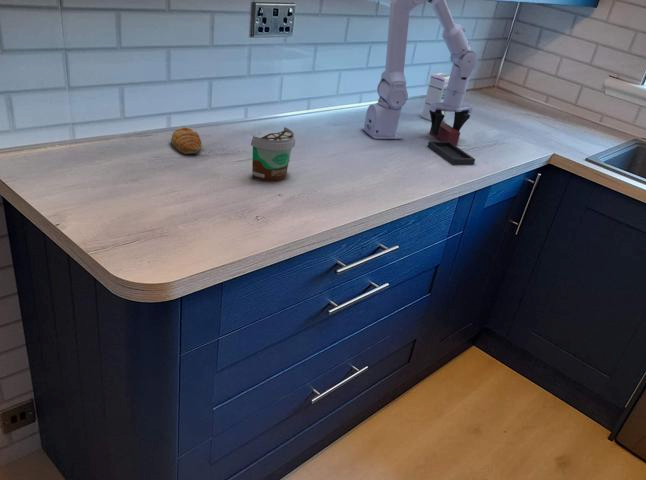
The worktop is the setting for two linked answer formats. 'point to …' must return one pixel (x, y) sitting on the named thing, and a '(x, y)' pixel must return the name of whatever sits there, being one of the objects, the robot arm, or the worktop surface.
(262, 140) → the food container
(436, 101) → the syrup box
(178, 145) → the pastry
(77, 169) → the worktop surface
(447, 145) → the cradle
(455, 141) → the dark red block
